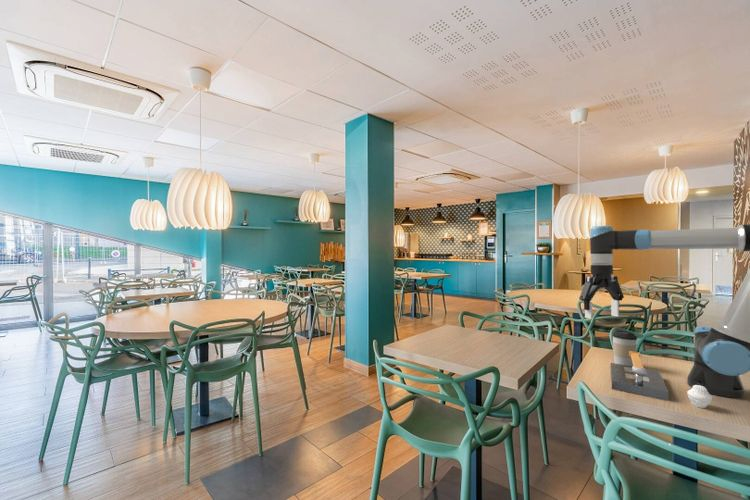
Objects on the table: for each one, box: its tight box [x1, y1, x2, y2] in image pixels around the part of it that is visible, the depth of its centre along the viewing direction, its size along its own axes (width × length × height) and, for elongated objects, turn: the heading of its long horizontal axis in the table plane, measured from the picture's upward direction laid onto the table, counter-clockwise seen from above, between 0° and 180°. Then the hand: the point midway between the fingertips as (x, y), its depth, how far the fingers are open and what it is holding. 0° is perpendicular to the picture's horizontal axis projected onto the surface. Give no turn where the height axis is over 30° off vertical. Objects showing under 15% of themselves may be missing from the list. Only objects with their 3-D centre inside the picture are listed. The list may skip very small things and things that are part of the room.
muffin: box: [686, 385, 713, 409], centre depth 113 cm, size 6×6×7 cm
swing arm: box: [629, 351, 647, 374], centre depth 132 cm, size 4×24×2 cm, turn 146°
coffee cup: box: [611, 330, 638, 366], centre depth 152 cm, size 9×9×15 cm
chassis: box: [610, 362, 670, 401], centre depth 131 cm, size 16×24×7 cm, turn 146°
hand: (602, 317), depth 137 cm, fingers open, 13 cm apart
